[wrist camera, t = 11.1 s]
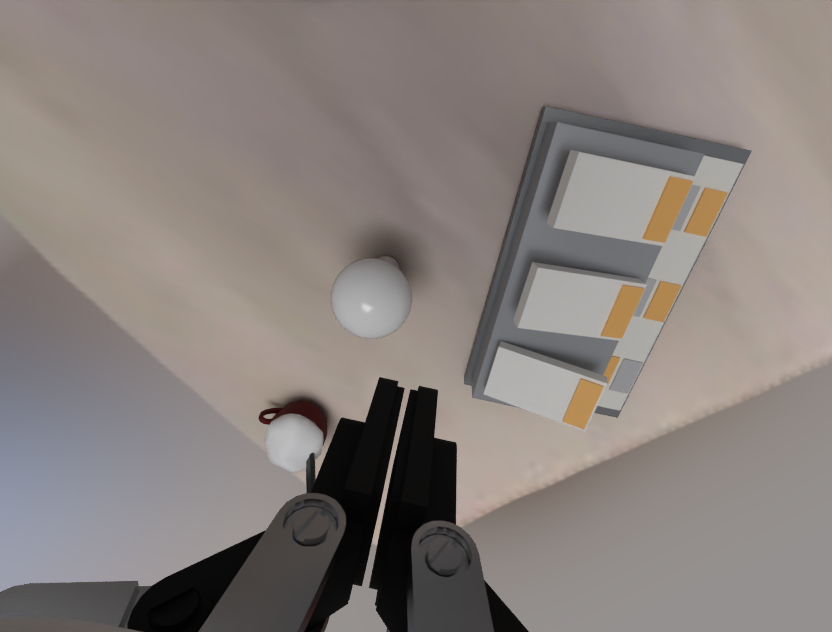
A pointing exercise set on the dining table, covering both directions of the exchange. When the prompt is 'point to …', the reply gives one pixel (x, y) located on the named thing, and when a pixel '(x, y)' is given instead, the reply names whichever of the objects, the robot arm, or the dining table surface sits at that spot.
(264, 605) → the robot arm
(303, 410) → the cocoa
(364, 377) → the dining table surface
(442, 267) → the dining table surface
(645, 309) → the switch unit
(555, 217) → the switch
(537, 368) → the switch
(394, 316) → the lightbulb
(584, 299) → the switch
